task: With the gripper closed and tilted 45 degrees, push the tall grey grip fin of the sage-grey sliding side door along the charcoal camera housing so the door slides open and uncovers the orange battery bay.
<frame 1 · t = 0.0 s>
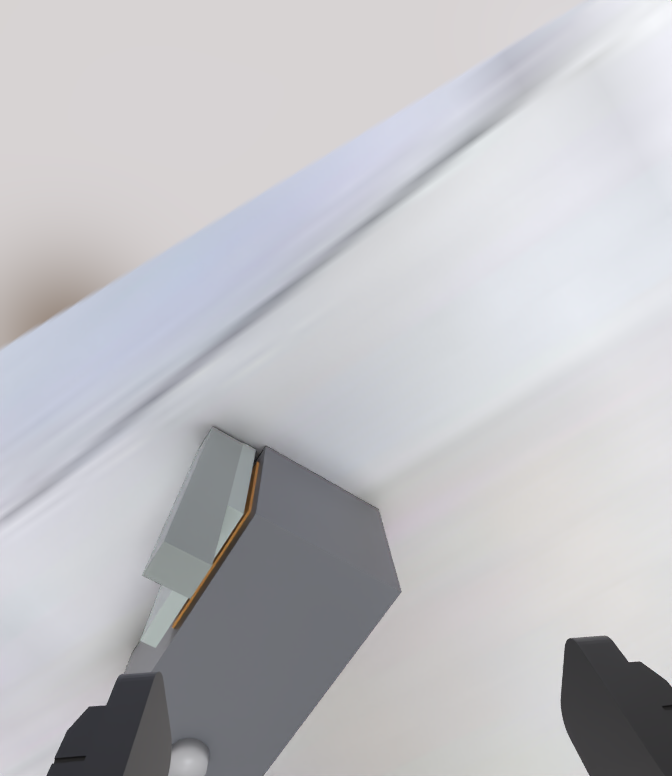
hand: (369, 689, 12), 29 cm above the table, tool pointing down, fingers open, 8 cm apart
side door: (177, 551, 34), point 8 cm above the table, slide at 0.0 cm
camera housing: (252, 582, 44), on the table
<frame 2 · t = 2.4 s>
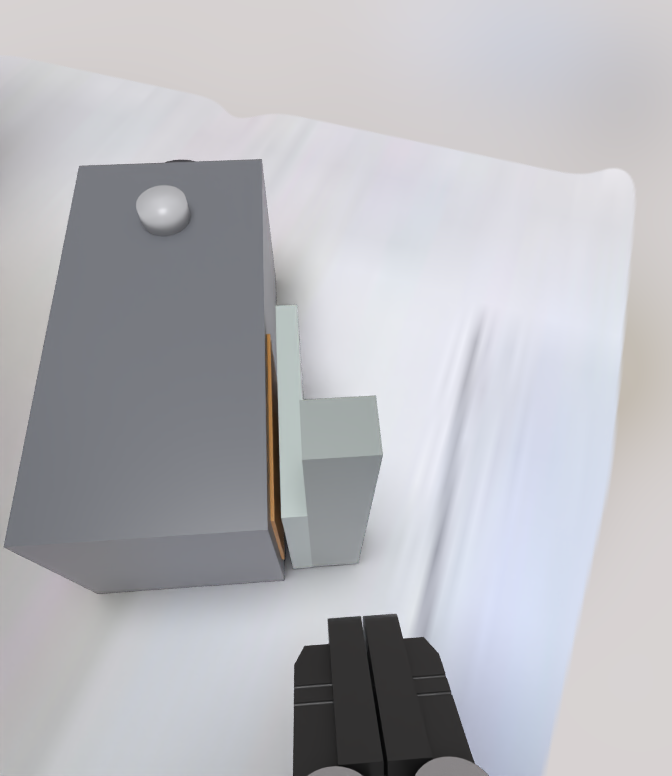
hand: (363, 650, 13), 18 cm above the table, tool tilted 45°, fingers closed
side door: (318, 417, 26), point 8 cm above the table, slide at 0.0 cm
camera housing: (199, 413, 35), on the table
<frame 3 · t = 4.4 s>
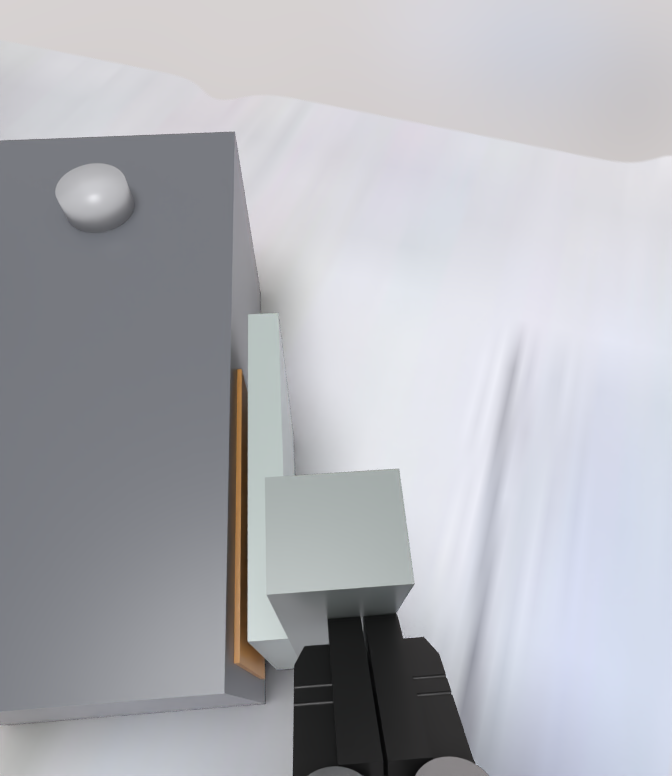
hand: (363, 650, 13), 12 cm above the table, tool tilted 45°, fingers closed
side door: (308, 473, 18), point 8 cm above the table, slide at 0.6 cm, touching gripper
camera housing: (157, 466, 27), on the table
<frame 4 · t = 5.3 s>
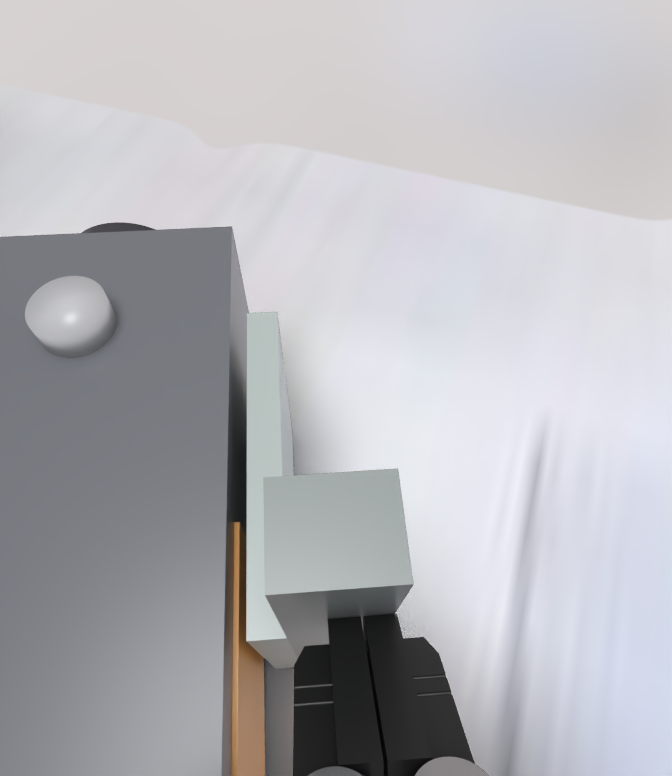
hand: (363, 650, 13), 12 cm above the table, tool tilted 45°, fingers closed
side door: (307, 472, 18), point 8 cm above the table, slide at 5.9 cm, touching gripper
camera housing: (147, 583, 24), on the table
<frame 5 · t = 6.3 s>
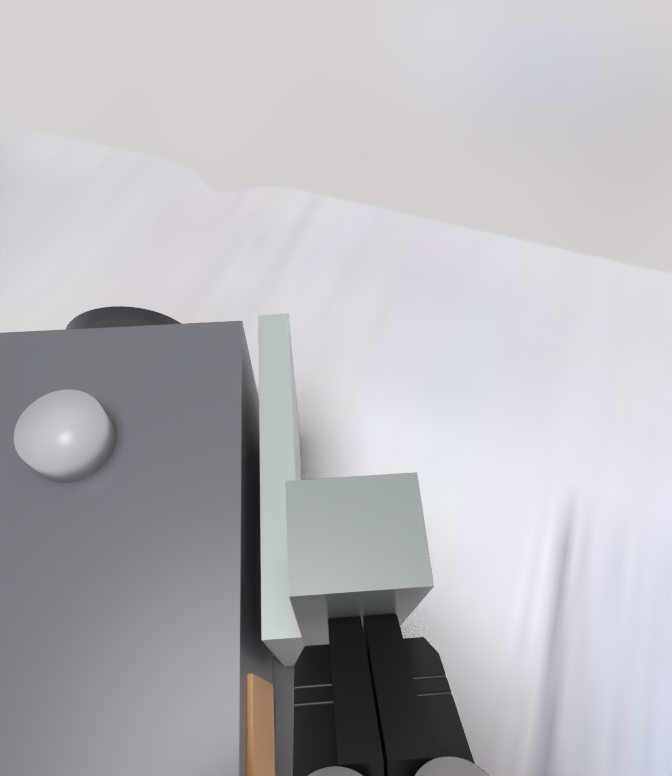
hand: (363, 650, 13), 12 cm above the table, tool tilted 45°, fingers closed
side door: (318, 473, 19), point 8 cm above the table, slide at 9.9 cm, touching gripper
camera housing: (148, 689, 23), on the table
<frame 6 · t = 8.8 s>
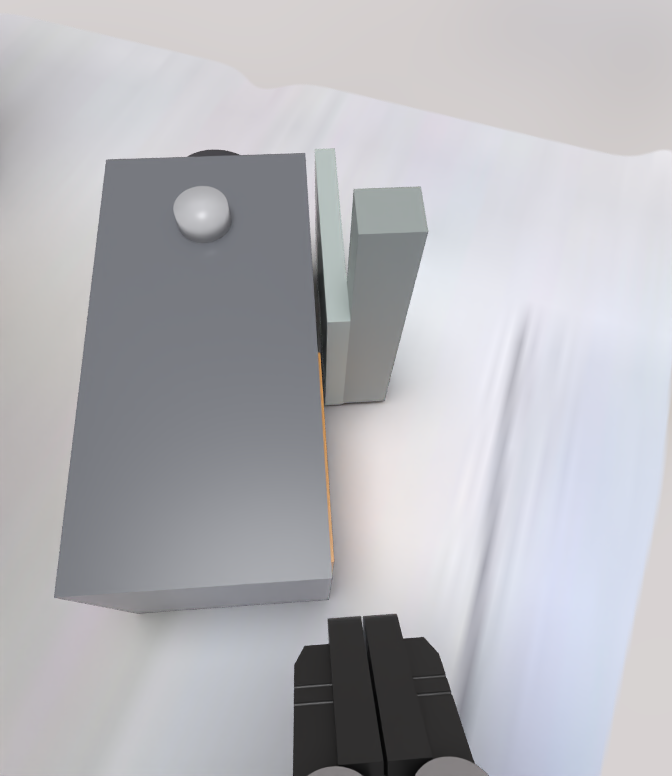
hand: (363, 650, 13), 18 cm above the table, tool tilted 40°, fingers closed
side door: (354, 251, 29), point 8 cm above the table, slide at 10.1 cm
camera housing: (233, 421, 34), on the table
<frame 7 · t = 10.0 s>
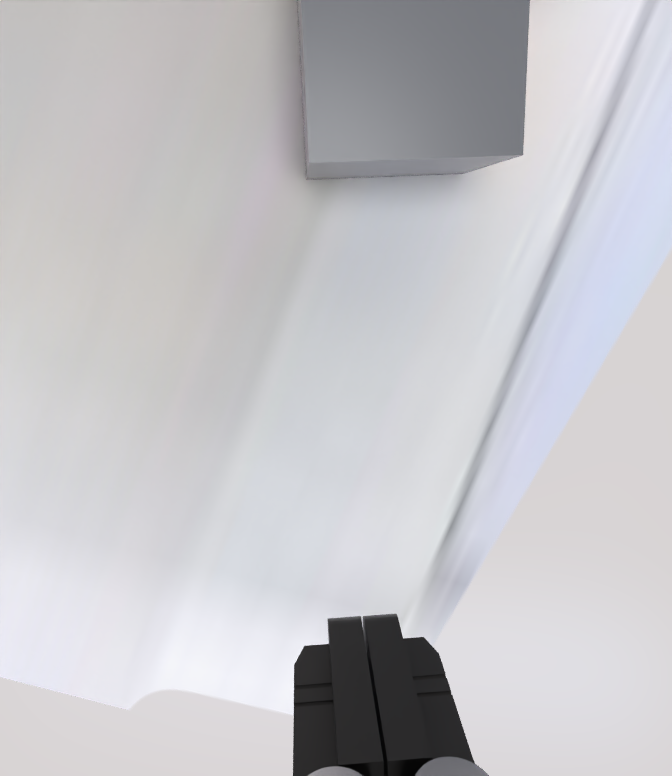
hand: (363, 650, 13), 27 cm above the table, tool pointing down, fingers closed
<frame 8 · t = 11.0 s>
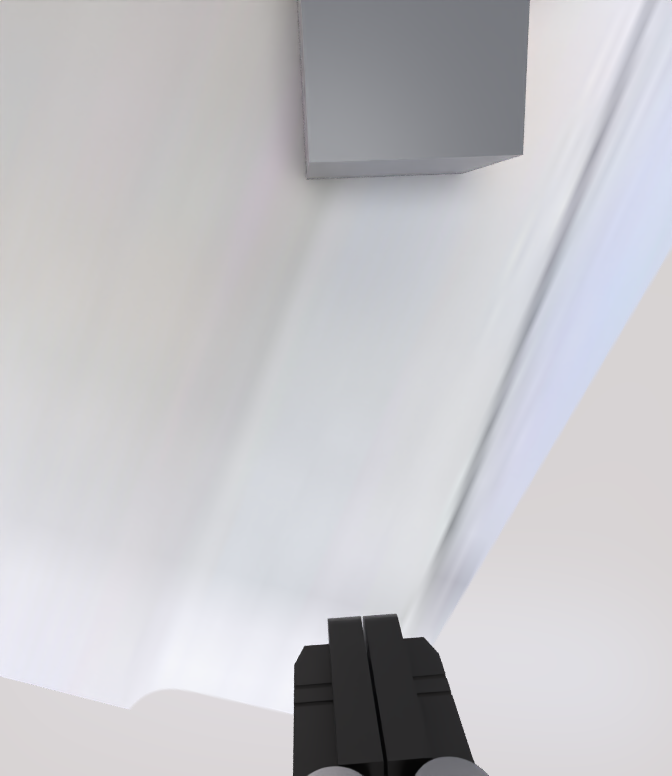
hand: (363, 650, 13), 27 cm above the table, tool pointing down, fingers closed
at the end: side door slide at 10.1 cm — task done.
